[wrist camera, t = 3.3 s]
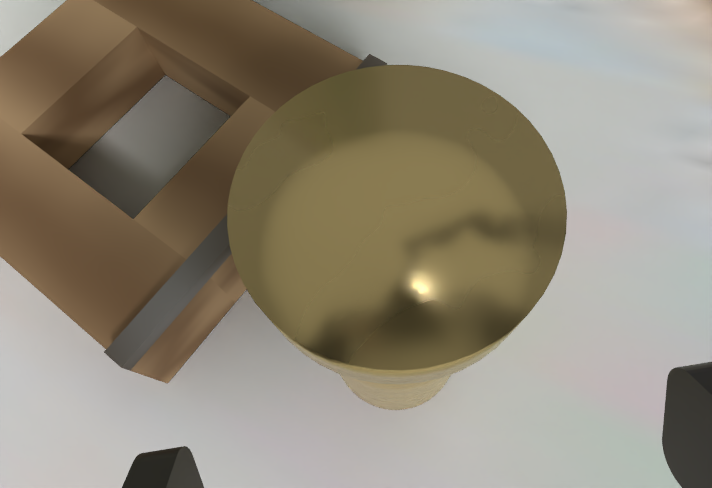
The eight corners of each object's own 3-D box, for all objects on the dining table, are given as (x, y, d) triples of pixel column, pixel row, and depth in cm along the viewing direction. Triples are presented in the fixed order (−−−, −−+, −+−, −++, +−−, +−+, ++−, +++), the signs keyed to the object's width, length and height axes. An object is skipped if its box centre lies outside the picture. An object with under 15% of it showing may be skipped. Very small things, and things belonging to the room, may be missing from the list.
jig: (164, -9, 27) (132, -74, 24) (388, 119, 23) (386, 63, 20) (-55, 191, 24) (-129, 147, 20) (167, 383, 20) (121, 367, 16)
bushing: (377, 252, 21) (358, 20, 10) (497, 331, 20) (629, 161, 9) (292, 363, 20) (158, 237, 9) (413, 458, 18) (441, 452, 7)
